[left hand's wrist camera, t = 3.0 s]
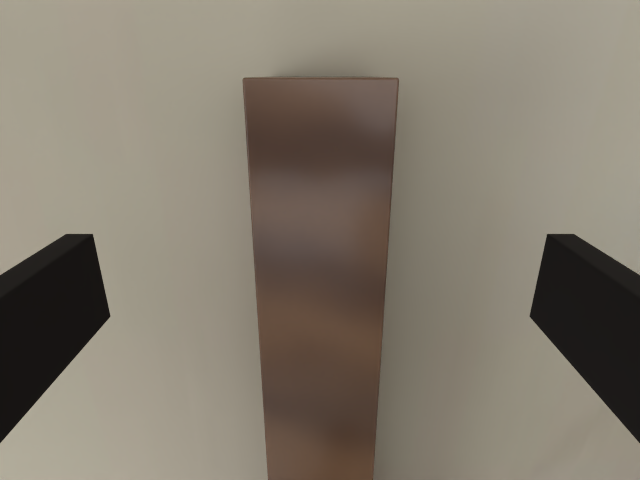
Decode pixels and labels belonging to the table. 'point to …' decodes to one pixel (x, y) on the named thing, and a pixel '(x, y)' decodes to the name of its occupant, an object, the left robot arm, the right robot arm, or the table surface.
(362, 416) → the post
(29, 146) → the table surface
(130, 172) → the table surface
